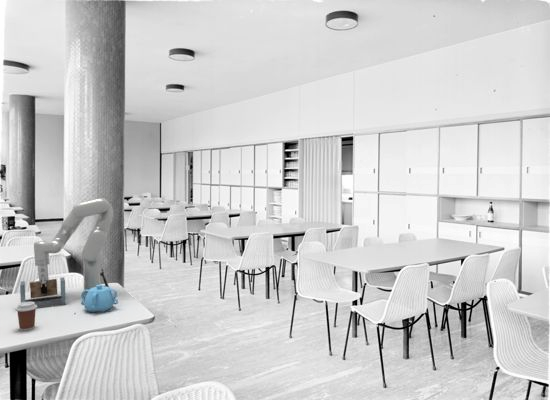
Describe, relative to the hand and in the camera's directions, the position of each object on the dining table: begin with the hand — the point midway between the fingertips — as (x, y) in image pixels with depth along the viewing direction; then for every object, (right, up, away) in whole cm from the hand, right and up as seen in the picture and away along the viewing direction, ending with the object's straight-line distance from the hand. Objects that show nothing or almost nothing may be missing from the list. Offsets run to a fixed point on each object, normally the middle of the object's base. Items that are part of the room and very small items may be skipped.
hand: (44, 292), depth 263 cm
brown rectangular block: (0, -2, 0) cm, 2 cm away
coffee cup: (+17, -7, -49) cm, 52 cm away
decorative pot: (+41, -6, -19) cm, 45 cm away
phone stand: (+23, -3, +27) cm, 36 cm away
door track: (+6, -5, -12) cm, 15 cm away
